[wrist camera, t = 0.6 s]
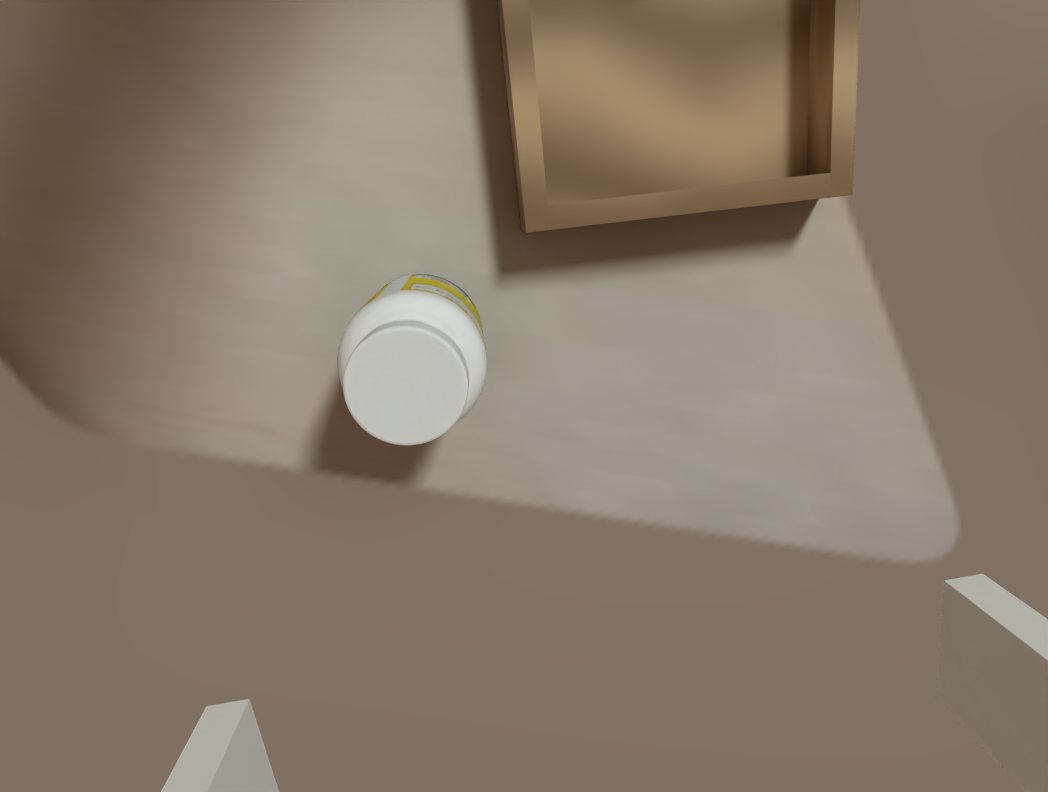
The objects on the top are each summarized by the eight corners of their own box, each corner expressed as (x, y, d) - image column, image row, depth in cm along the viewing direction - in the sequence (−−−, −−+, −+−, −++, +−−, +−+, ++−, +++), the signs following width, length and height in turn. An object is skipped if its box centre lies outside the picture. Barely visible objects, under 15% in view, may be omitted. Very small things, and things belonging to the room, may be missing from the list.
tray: (475, -203, 24) (475, -250, 21) (831, -232, 24) (871, -280, 22) (521, 231, 28) (526, 232, 26) (820, 196, 29) (852, 194, 27)
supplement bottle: (387, 400, 30) (350, 485, 21) (349, 290, 28) (290, 328, 19) (496, 369, 30) (508, 440, 21) (464, 258, 28) (461, 280, 19)
